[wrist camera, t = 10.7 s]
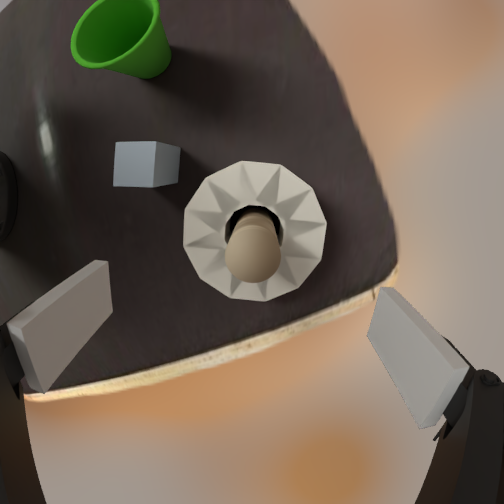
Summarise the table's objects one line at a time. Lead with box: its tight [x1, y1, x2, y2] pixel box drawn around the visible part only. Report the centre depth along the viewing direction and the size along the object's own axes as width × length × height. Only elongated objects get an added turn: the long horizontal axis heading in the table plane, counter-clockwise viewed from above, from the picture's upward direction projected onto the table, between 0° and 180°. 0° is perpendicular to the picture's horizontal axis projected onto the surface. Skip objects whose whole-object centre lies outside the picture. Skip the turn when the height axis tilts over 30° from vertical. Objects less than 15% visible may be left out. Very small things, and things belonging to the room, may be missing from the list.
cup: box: [71, 0, 171, 79], centre depth 22 cm, size 9×9×11 cm
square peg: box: [113, 141, 181, 187], centre depth 27 cm, size 4×4×8 cm
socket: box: [183, 161, 327, 301], centre depth 30 cm, size 14×14×5 cm
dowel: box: [225, 208, 281, 283], centre depth 26 cm, size 4×4×12 cm
